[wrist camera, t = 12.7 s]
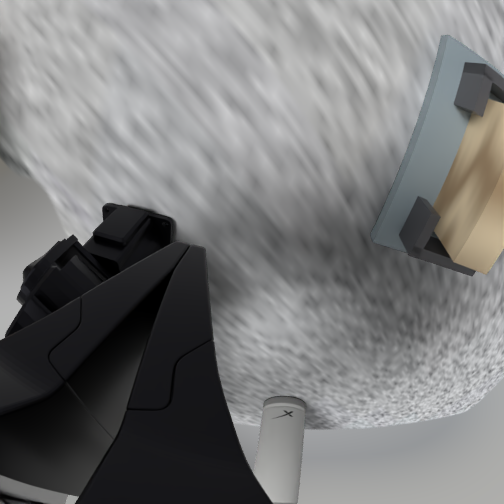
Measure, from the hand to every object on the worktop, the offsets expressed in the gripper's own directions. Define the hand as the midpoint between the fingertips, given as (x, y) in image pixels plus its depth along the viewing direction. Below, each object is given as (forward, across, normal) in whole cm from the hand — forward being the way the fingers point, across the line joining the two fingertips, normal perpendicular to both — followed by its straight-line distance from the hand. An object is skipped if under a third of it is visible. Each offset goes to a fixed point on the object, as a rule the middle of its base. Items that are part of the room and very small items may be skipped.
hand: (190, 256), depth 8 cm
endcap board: (+12, -15, -4) cm, 20 cm away
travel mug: (+12, -12, +34) cm, 38 cm away
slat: (+11, -15, -4) cm, 19 cm away
